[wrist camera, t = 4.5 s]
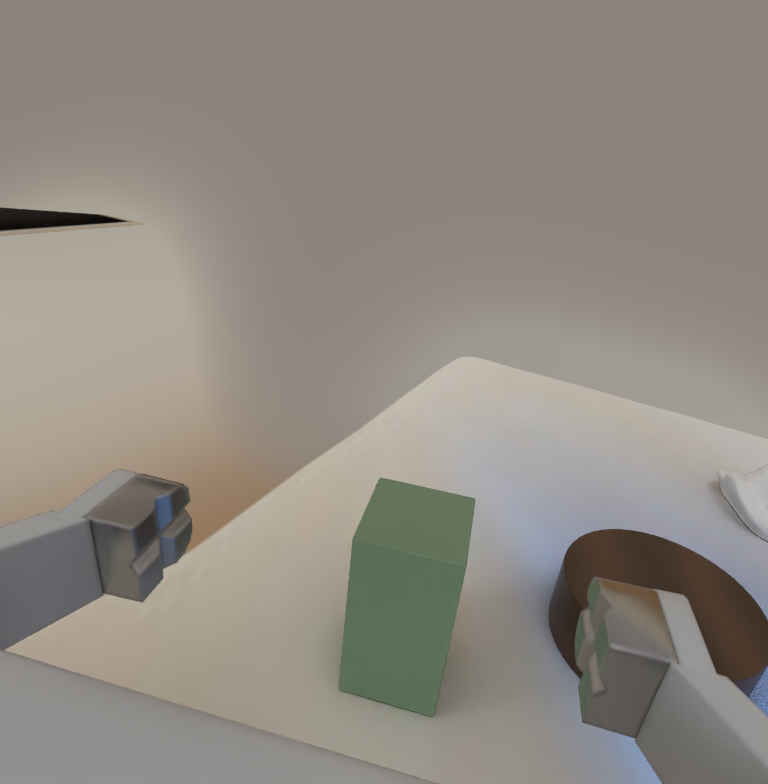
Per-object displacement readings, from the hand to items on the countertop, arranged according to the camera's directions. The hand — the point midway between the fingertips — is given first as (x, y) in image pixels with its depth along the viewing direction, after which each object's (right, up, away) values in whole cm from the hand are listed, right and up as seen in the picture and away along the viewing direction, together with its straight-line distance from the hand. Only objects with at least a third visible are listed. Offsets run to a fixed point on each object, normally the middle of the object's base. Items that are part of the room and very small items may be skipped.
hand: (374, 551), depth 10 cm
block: (+1, -12, +19) cm, 22 cm away
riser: (+16, -12, +22) cm, 29 cm away
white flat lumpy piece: (+33, -8, +35) cm, 49 cm away
